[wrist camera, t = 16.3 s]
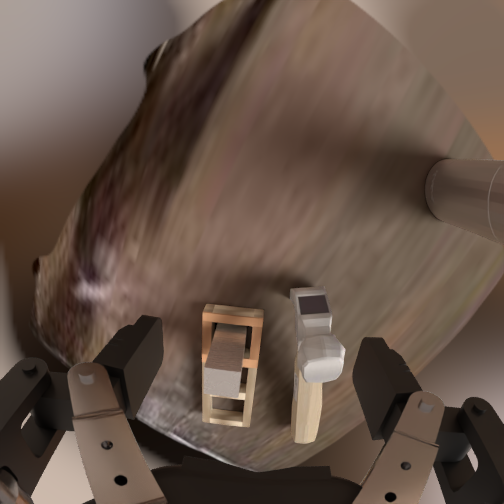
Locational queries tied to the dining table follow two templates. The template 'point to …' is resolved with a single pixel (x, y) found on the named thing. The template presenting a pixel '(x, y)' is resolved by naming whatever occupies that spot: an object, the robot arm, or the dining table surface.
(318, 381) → the hammer
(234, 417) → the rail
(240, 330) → the steel peg
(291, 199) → the dining table surface
